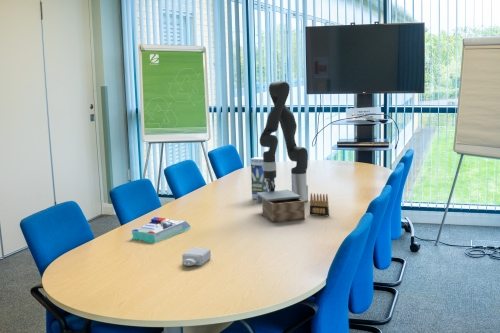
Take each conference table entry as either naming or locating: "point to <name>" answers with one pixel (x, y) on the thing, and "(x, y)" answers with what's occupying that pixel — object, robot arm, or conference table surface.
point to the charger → (196, 256)
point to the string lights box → (257, 176)
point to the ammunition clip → (319, 205)
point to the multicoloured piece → (159, 229)
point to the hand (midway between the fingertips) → (270, 198)
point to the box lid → (276, 195)
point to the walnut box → (283, 210)
